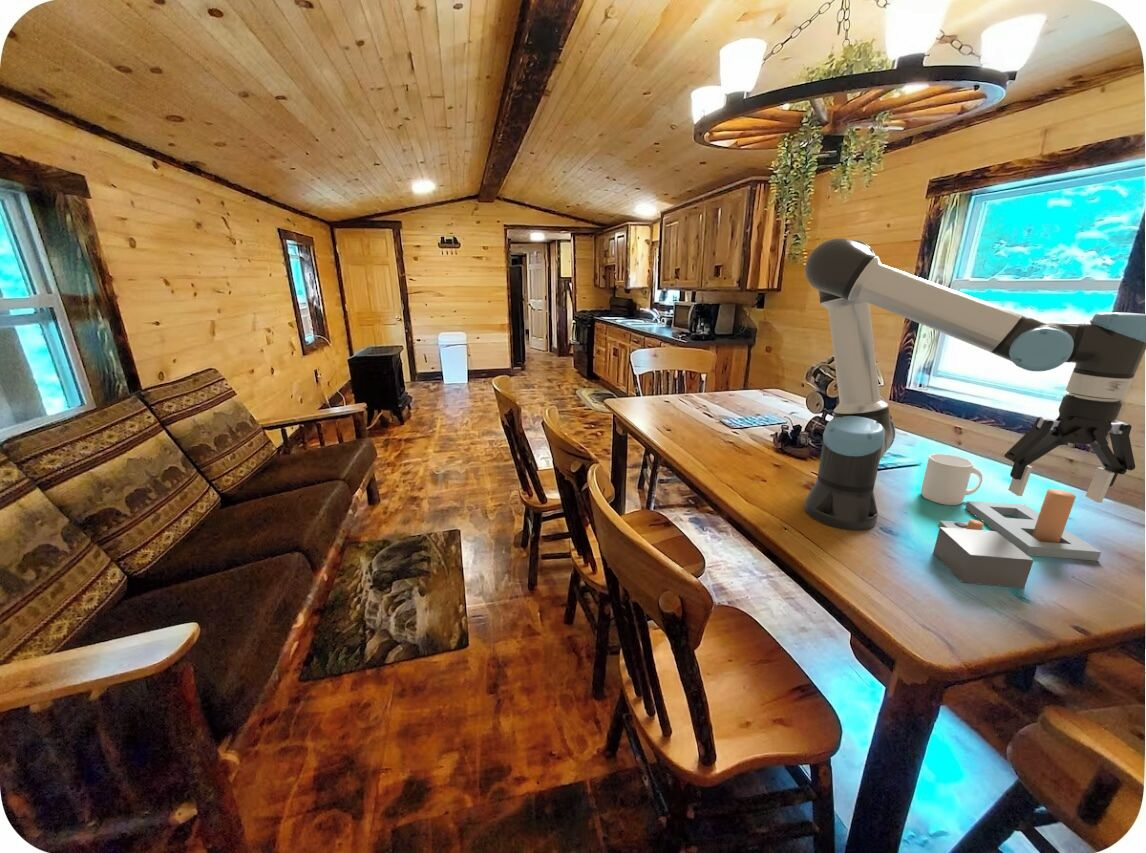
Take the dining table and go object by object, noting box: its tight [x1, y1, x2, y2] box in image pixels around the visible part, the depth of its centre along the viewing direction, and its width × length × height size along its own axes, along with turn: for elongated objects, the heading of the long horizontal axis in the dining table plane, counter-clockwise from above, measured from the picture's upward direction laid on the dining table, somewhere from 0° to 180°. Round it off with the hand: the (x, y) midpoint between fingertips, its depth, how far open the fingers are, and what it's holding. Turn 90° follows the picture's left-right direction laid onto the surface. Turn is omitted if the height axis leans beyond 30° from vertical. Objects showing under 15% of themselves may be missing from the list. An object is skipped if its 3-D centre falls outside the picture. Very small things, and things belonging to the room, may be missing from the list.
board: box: [938, 519, 984, 530], centre depth 97 cm, size 7×7×4 cm
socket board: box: [965, 500, 1102, 562], centre depth 98 cm, size 12×20×2 cm, turn 168°
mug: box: [920, 453, 983, 506], centre depth 112 cm, size 9×12×11 cm
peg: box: [1032, 488, 1077, 543], centre depth 92 cm, size 4×4×12 cm
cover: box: [933, 526, 1035, 589], centre depth 85 cm, size 10×10×6 cm
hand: (1053, 496), depth 91 cm, fingers open, 13 cm apart
